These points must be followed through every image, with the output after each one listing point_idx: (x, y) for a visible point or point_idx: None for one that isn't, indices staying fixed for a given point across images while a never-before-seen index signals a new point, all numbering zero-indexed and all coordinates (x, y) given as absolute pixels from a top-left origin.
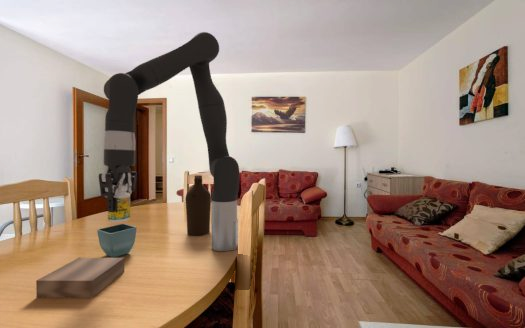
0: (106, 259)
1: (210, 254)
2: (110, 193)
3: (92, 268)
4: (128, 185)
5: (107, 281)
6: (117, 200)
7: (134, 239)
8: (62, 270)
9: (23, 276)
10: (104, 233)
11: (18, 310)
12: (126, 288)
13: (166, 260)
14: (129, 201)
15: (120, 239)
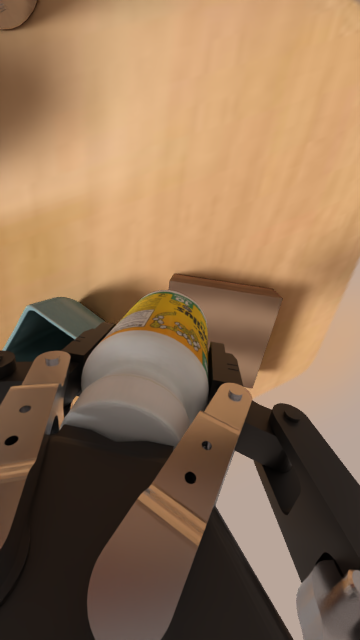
0: None
1: (70, 24)
2: (308, 425)
3: (220, 323)
4: (56, 402)
5: (231, 284)
6: (206, 370)
7: (56, 298)
8: None
9: None
10: None
11: (279, 373)
12: (252, 238)
13: (118, 187)
14: (149, 317)
15: (84, 326)
